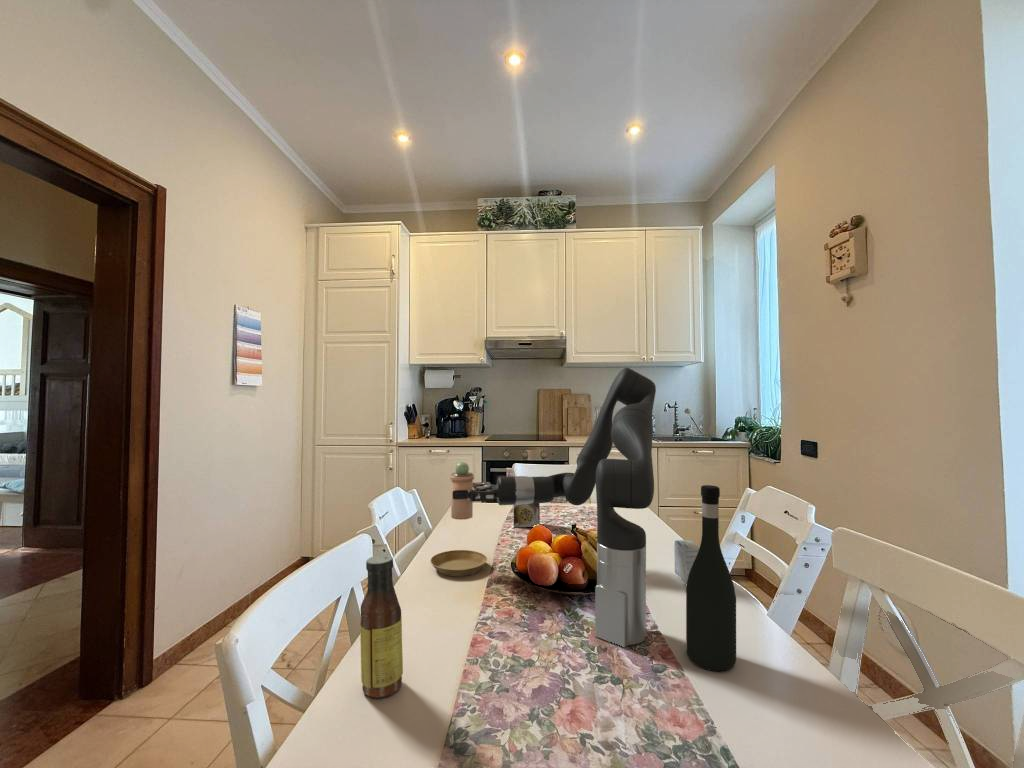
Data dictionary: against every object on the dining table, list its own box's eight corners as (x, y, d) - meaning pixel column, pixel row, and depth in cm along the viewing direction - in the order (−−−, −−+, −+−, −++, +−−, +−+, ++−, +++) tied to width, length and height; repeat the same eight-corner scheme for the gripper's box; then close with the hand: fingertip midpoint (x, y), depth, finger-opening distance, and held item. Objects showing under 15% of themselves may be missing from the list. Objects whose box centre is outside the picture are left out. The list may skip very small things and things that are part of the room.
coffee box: (540, 523, 166) (540, 477, 166) (539, 528, 159) (539, 481, 160) (514, 522, 166) (514, 477, 167) (512, 527, 160) (513, 480, 160)
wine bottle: (676, 652, 83) (676, 483, 84) (711, 644, 86) (710, 480, 86) (710, 678, 75) (709, 492, 76) (747, 668, 78) (746, 489, 79)
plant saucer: (457, 555, 133) (457, 546, 133) (498, 567, 124) (498, 557, 124) (418, 570, 121) (418, 560, 121) (459, 585, 112) (459, 574, 112)
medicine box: (703, 586, 112) (703, 550, 112) (684, 586, 112) (684, 549, 112) (691, 573, 120) (691, 539, 120) (674, 573, 120) (674, 539, 120)
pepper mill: (461, 521, 119) (461, 464, 119) (445, 516, 123) (445, 462, 123) (478, 516, 124) (478, 462, 124) (462, 512, 128) (462, 459, 128)
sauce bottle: (409, 679, 75) (411, 554, 75) (389, 704, 69) (391, 568, 69) (373, 672, 76) (375, 550, 77) (350, 696, 70) (352, 563, 71)
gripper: (511, 471, 133) (451, 473, 130) (519, 481, 119) (452, 483, 116) (511, 498, 133) (451, 500, 130) (519, 511, 118) (452, 513, 116)
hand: (452, 492), depth 123 cm, fingers closed on pepper mill, 5 cm apart
